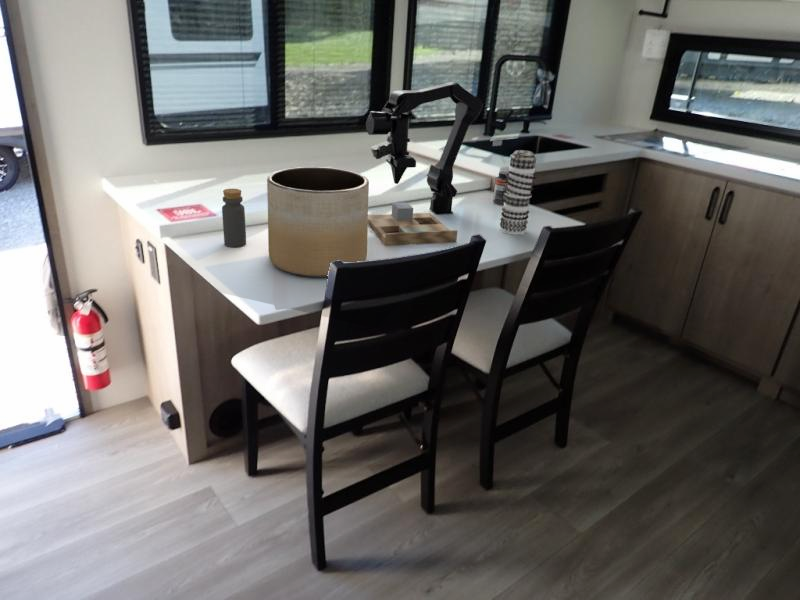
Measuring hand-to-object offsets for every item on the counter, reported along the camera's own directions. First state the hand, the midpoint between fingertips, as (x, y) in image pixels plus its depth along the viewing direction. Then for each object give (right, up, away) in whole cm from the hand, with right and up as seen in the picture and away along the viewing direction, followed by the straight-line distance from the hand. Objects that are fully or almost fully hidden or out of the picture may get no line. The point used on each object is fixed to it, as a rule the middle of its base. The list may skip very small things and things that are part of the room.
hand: (396, 183), depth 189 cm
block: (+2, -11, -3) cm, 12 cm away
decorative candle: (+37, -15, -1) cm, 41 cm away
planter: (-20, -28, -35) cm, 49 cm away
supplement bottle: (+39, -2, +28) cm, 48 cm away
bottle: (-44, -22, -27) cm, 57 cm away
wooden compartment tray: (+4, -16, -8) cm, 19 cm away
